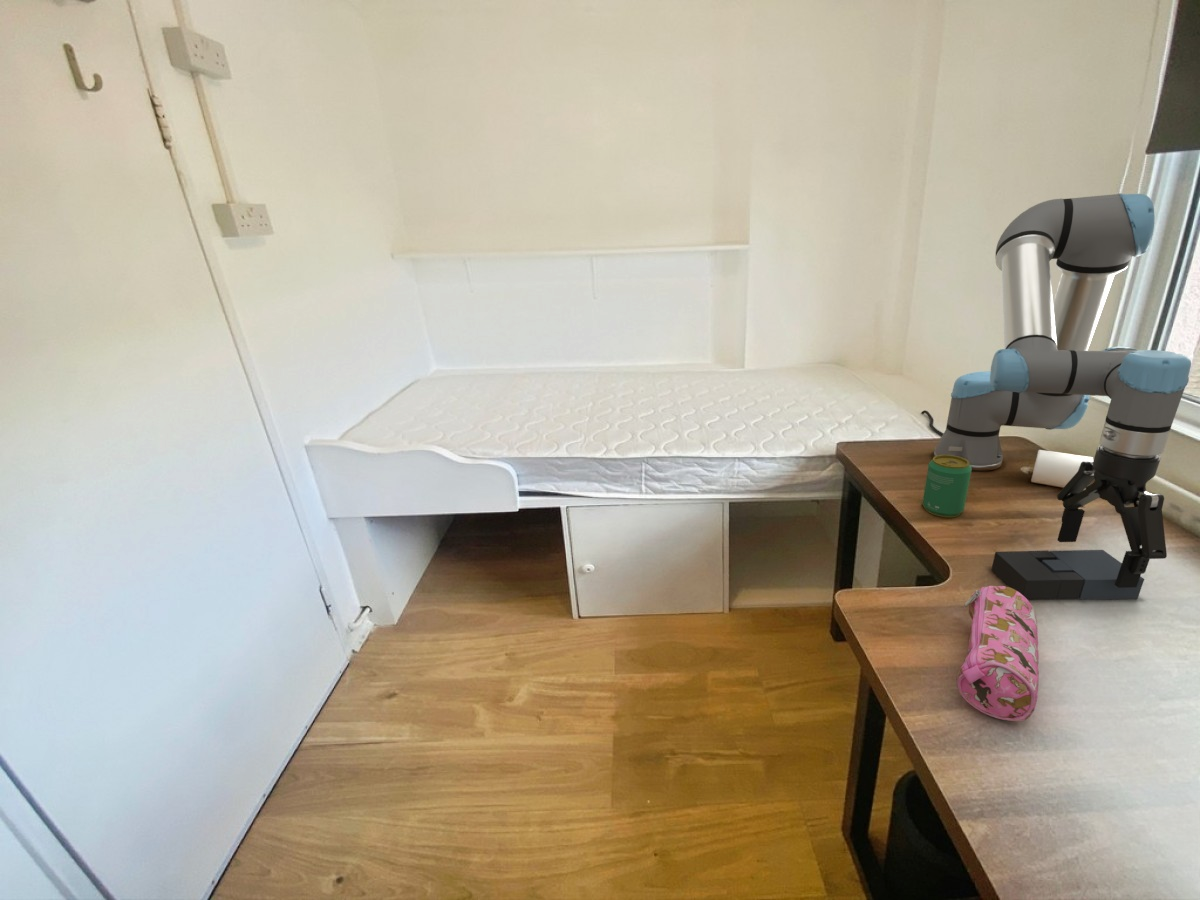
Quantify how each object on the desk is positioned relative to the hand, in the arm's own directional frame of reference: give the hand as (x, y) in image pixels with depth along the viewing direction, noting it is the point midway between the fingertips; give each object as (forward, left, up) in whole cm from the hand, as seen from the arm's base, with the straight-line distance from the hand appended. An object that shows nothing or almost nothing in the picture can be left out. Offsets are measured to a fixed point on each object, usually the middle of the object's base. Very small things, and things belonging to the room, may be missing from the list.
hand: (1093, 562), depth 96 cm
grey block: (0, -2, -4) cm, 4 cm away
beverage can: (-28, -11, -4) cm, 30 cm away
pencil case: (+21, -28, -4) cm, 35 cm away
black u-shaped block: (0, -9, -4) cm, 10 cm away
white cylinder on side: (-40, +21, -4) cm, 45 cm away
